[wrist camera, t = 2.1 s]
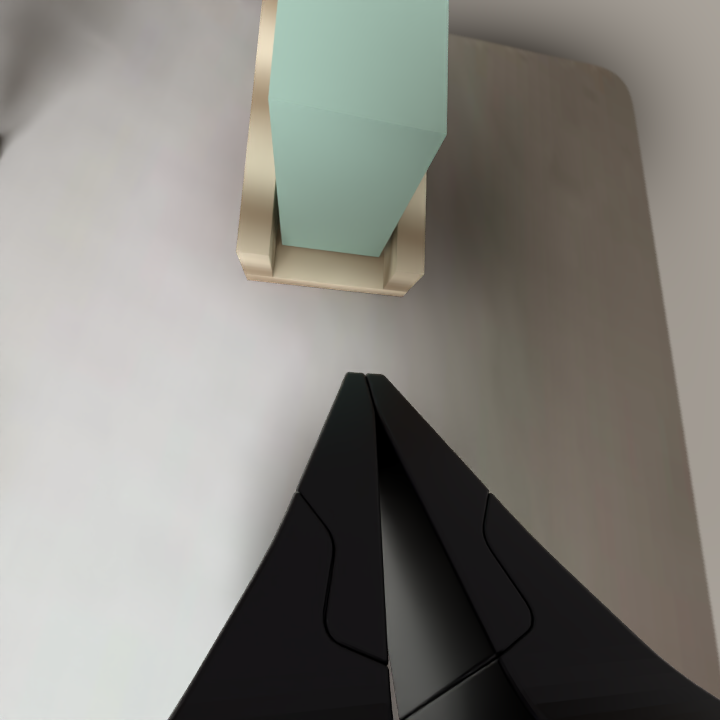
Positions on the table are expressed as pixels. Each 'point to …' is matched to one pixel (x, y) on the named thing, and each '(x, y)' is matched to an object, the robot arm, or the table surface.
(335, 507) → the robot arm
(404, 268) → the chute
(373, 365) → the table surface
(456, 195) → the table surface
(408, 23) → the sage block
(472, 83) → the table surface
